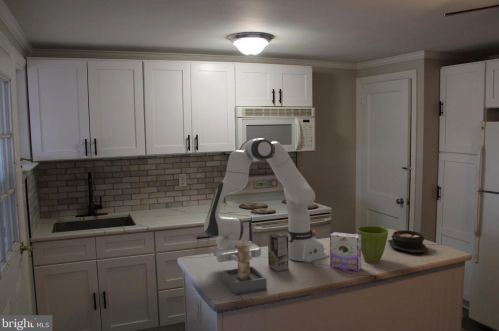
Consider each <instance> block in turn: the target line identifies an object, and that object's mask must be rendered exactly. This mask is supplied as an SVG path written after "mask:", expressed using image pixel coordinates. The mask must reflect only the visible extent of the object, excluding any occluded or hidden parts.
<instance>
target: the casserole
mask: <svg viewBox="0 0 499 331" xmlns="http://www.w3.org/2000/svg"><path fill="white" fill-rule="evenodd" d="M424 241H425V237H424V235H423V234H422V233H421V232H418V231H415V230H396V231H394V232H393V234H392V235H391V239H387V243H389V246H390V247H392V248H393V249H397V250H399V251H402V252H409V253H413V254H415V253H427V252H428V251H430V249H429V248H428V247H427V246H426V245H425V244H424Z"/></svg>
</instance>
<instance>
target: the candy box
mask: <svg viewBox="0 0 499 331" xmlns="http://www.w3.org/2000/svg"><path fill="white" fill-rule="evenodd" d="M329 239H330V240H329V251H330V252H329V258H330V259H329V260H330V266H329V267H330V268H332V269H338V270H344V271H345V270H346V271H352V272H359V271H360V270H361V269H362V251H361V235H358V234H354V233H353V234H352V233H345V232H338V231H337V232H335V231H334V232H332V233H331V234H330V235H329Z"/></svg>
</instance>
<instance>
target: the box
mask: <svg viewBox="0 0 499 331" xmlns="http://www.w3.org/2000/svg"><path fill="white" fill-rule="evenodd" d="M222 275H223V276H222V278H223V279H222V280H223V283H224V284H225V285H226V287H227V288H228V289H229V290H230V291H231V292H232V293H233V294H234V295H235V296H239V295H245V294H246V295H247V294H250V293H256V292H260V291H261V292H262V291H267V290H268V287H267V283H268V282H267V277H266V276H265V275H263V274H262V273H261V272H260V271H259V270H257V269H256V268H255V267H254V266H250V277H247V278H240V277H239V276H238V268H234V269H226V270H222Z"/></svg>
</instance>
